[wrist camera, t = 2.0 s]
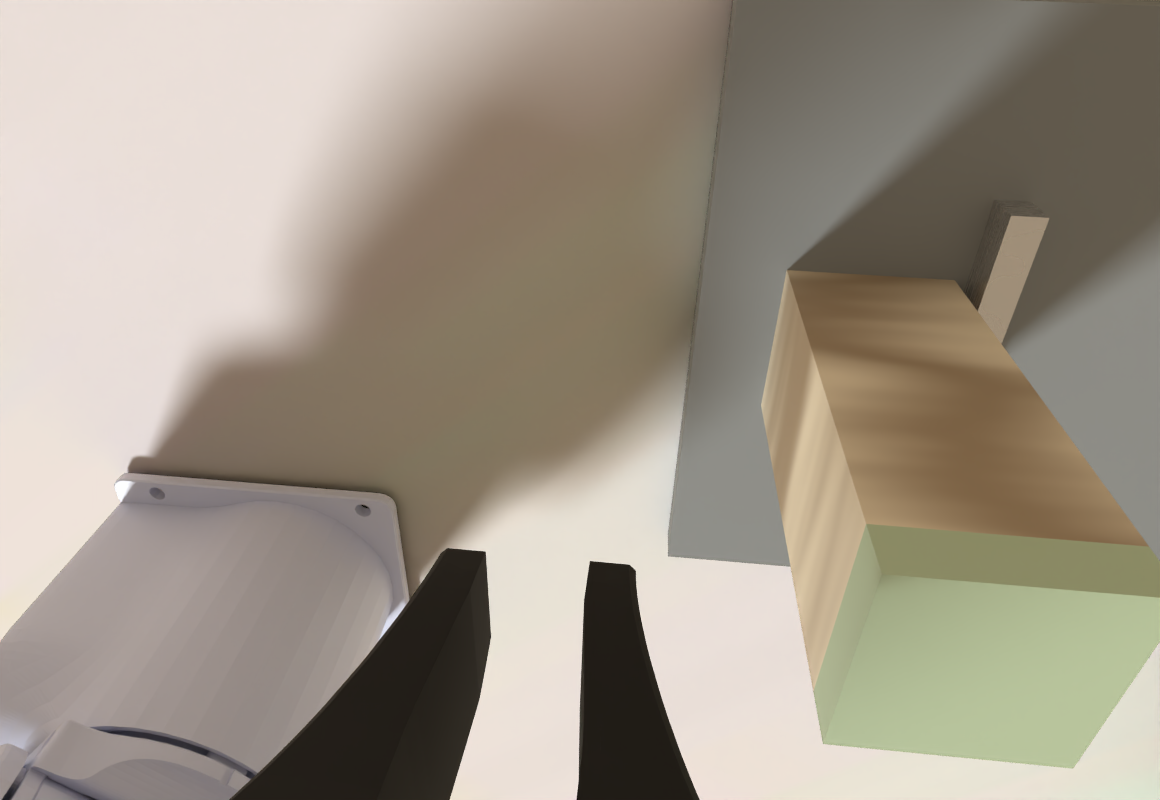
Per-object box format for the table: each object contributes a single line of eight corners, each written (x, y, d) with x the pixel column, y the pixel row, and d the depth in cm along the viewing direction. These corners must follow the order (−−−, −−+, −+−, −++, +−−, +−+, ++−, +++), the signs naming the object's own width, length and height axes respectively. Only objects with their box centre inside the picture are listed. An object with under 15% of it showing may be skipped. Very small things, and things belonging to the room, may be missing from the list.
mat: (668, 534, 25) (668, 579, 24) (734, -16, 16) (742, -5, 15) (1241, 581, 24) (1284, 632, 23) (1649, 19, 15) (1770, 35, 14)
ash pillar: (761, 405, 21) (823, 743, 13) (786, 270, 19) (881, 574, 10) (911, 415, 21) (1073, 768, 12) (954, 280, 19) (1188, 600, 10)
